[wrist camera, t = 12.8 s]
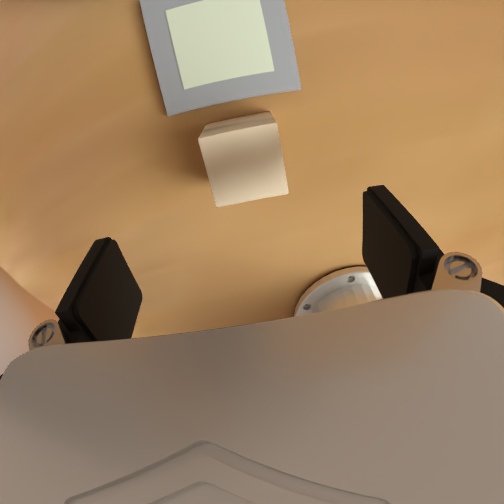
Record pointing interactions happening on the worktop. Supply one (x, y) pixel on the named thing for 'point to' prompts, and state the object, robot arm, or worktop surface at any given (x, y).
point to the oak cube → (243, 159)
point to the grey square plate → (219, 50)
